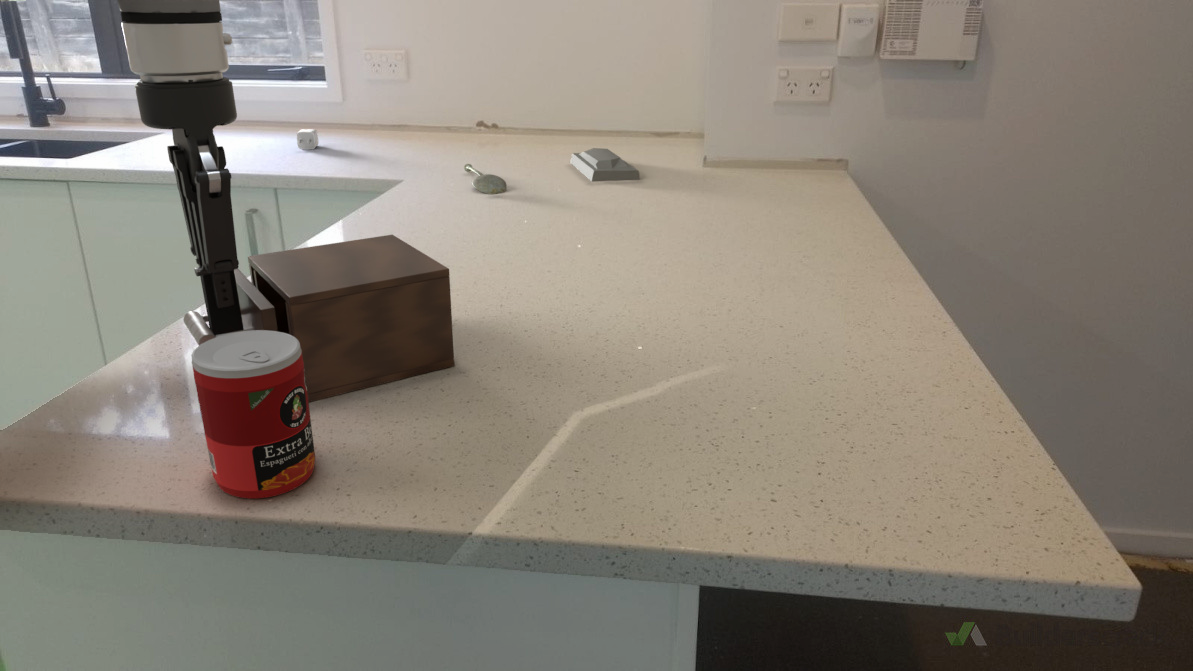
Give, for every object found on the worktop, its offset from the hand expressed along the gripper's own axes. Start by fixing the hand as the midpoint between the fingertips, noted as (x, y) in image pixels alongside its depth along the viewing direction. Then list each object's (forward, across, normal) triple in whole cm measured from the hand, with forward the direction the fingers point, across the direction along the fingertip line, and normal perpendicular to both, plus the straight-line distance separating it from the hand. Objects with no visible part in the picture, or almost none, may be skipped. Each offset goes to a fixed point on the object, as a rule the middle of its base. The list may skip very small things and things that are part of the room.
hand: (227, 334), depth 80 cm
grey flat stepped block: (+6, +67, -91) cm, 113 cm away
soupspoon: (+6, +70, -63) cm, 94 cm away
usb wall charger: (+6, +124, -45) cm, 132 cm away
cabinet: (+6, 0, -12) cm, 13 cm away
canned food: (+6, -18, +2) cm, 19 cm away
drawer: (+5, 0, -7) cm, 8 cm away
